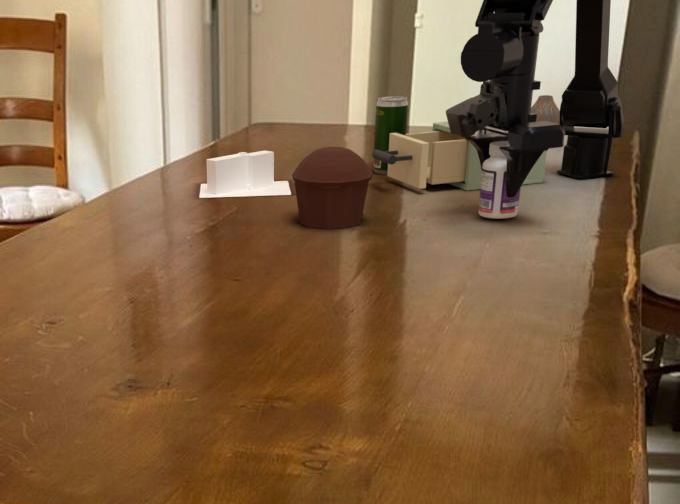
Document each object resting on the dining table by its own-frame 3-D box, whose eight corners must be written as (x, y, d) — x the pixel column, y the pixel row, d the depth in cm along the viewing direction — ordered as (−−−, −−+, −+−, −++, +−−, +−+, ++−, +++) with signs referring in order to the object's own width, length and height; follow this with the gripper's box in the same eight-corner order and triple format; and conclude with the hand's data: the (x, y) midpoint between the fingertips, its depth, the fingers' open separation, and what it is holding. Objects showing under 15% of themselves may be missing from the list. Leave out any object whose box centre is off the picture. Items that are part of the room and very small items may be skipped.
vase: (527, 141, 195) (533, 93, 191) (563, 143, 192) (570, 94, 187) (515, 147, 190) (520, 97, 186) (551, 149, 187) (558, 99, 183)
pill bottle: (518, 211, 144) (526, 139, 140) (516, 220, 140) (524, 146, 135) (479, 209, 146) (486, 139, 141) (476, 218, 141) (483, 146, 137)
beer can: (388, 176, 171) (392, 101, 166) (366, 172, 175) (369, 98, 170) (410, 171, 174) (415, 97, 168) (389, 167, 178) (393, 95, 172)
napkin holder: (199, 198, 163) (198, 161, 160) (200, 183, 173) (199, 149, 170) (292, 194, 162) (292, 157, 159) (287, 180, 172) (288, 145, 169)
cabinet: (466, 190, 159) (472, 133, 155) (428, 176, 170) (432, 122, 166) (543, 182, 162) (550, 126, 158) (501, 169, 173) (506, 116, 169)
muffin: (378, 228, 140) (382, 154, 135) (299, 233, 140) (300, 158, 135) (359, 210, 151) (362, 140, 146) (286, 214, 150) (286, 144, 145)
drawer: (394, 191, 157) (397, 145, 153) (363, 178, 166) (365, 135, 163) (490, 181, 160) (495, 136, 157) (455, 169, 170) (458, 126, 167)
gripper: (424, 71, 140) (416, 186, 148) (495, 84, 124) (482, 213, 132) (495, 65, 142) (484, 178, 150) (574, 78, 127) (558, 204, 134)
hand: (499, 193), depth 141 cm, fingers closed on pill bottle, 5 cm apart
